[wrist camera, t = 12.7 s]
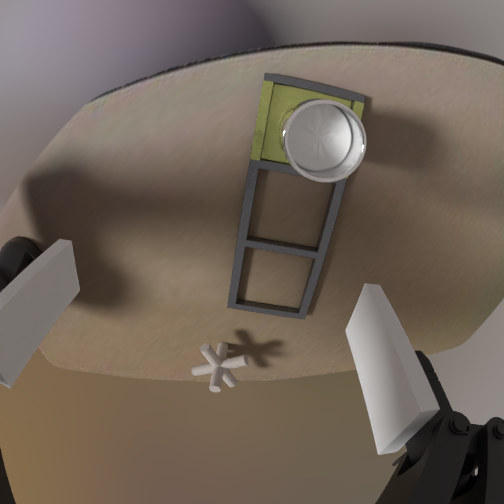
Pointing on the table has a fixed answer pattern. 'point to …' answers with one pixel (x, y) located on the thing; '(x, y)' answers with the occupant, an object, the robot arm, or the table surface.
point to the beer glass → (322, 139)
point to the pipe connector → (219, 366)
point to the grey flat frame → (272, 151)
